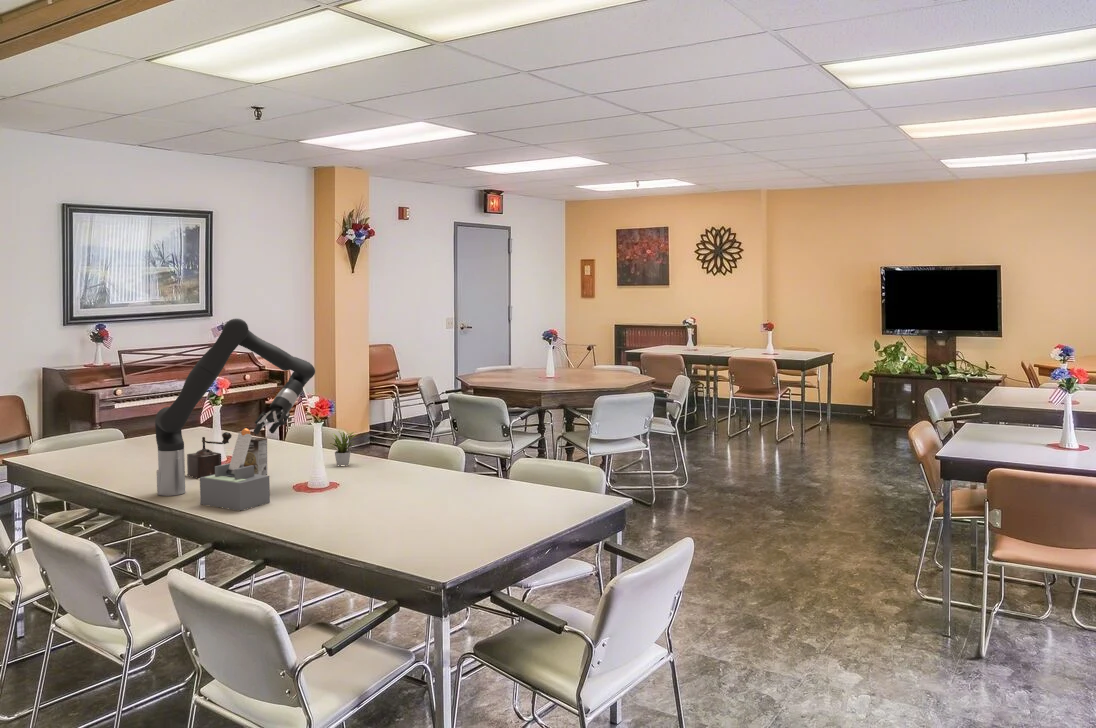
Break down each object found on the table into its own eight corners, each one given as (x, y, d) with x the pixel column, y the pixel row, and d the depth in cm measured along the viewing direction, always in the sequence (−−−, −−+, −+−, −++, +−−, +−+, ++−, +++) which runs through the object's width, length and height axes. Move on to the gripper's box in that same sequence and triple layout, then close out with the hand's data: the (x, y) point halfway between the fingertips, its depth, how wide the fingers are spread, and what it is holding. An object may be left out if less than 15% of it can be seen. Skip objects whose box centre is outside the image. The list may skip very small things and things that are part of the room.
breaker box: (240, 511, 287) (239, 472, 286) (200, 504, 296) (199, 466, 295) (269, 502, 299) (269, 465, 298) (231, 496, 308) (230, 460, 307)
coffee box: (240, 476, 344) (239, 438, 343) (250, 473, 350) (249, 436, 349) (258, 477, 341) (257, 439, 340) (268, 474, 347) (267, 437, 346)
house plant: (366, 462, 374) (365, 427, 373) (356, 468, 360) (355, 432, 359) (336, 461, 375) (335, 426, 374) (325, 467, 362) (324, 431, 360)
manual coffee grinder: (199, 479, 337) (198, 436, 336) (186, 475, 344) (185, 433, 343) (234, 473, 349) (233, 432, 348) (221, 469, 356) (220, 429, 355)
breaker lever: (236, 475, 294) (249, 428, 298) (224, 474, 296) (237, 426, 301) (242, 477, 296) (255, 430, 301) (231, 475, 299) (244, 429, 304)
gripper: (265, 396, 325) (244, 427, 314) (291, 394, 318) (270, 425, 307) (276, 409, 329) (255, 439, 318) (302, 407, 322) (281, 438, 312)
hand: (263, 432), depth 313 cm, fingers open, 8 cm apart
